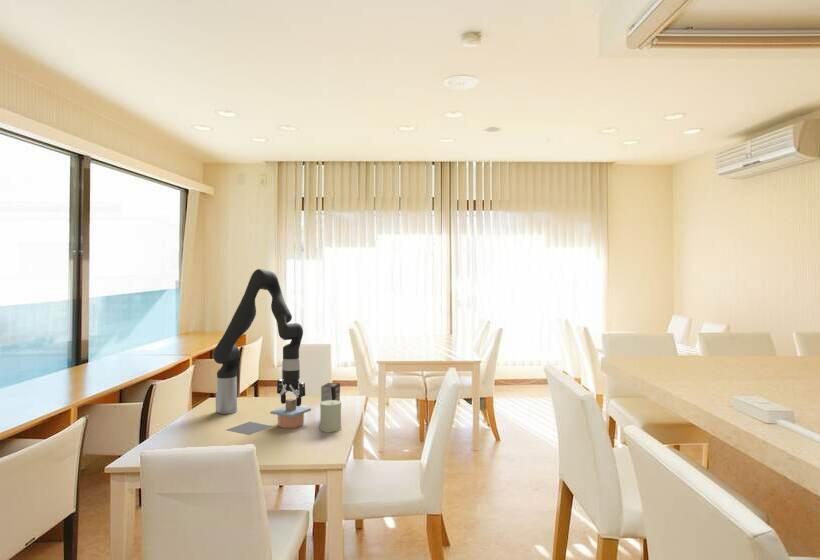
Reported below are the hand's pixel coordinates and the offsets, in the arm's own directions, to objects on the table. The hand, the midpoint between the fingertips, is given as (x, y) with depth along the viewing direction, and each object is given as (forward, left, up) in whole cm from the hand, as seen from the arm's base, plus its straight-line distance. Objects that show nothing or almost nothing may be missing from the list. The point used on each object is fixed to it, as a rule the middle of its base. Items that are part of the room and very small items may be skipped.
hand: (291, 404), depth 229 cm
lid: (0, 0, -3) cm, 3 cm away
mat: (-12, -12, -9) cm, 20 cm away
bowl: (0, 0, -9) cm, 9 cm away
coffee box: (+10, +16, -10) cm, 21 cm away
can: (+18, +4, -10) cm, 21 cm away
